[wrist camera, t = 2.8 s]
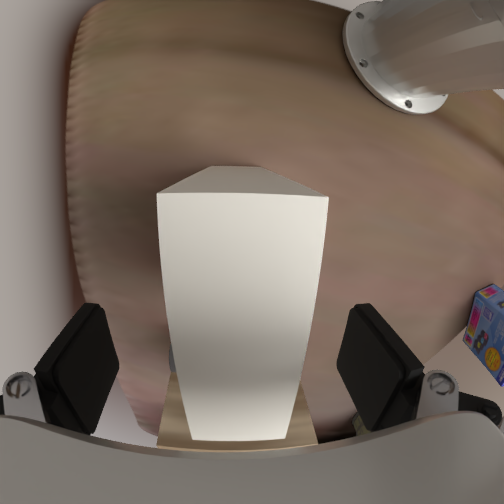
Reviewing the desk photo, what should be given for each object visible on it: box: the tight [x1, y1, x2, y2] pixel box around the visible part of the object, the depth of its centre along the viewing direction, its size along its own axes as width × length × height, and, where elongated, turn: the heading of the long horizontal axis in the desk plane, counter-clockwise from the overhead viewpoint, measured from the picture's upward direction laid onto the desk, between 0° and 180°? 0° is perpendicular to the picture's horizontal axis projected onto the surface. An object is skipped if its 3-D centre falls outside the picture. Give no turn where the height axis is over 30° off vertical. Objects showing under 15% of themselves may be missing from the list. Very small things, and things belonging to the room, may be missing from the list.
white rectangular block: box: [157, 166, 329, 441], centre depth 15 cm, size 10×5×16 cm, turn 178°
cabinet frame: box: [157, 372, 318, 452], centre depth 22 cm, size 14×10×14 cm
